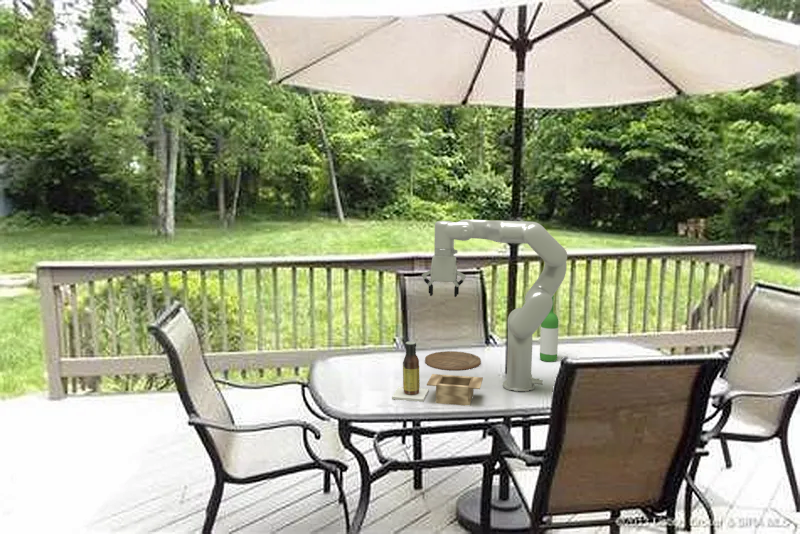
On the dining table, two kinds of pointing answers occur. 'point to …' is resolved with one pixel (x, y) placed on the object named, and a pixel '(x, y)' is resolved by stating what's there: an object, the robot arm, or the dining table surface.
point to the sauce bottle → (411, 370)
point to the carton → (454, 388)
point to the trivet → (452, 360)
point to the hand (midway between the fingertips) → (443, 295)
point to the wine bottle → (549, 337)
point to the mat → (416, 397)
